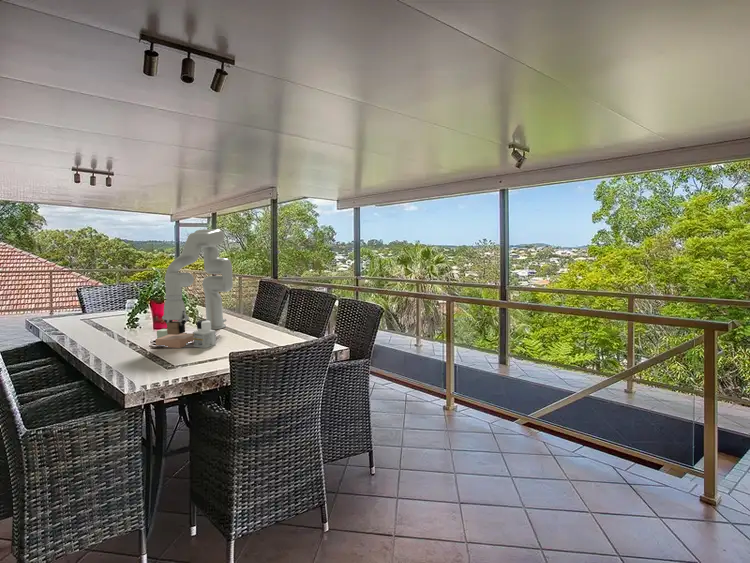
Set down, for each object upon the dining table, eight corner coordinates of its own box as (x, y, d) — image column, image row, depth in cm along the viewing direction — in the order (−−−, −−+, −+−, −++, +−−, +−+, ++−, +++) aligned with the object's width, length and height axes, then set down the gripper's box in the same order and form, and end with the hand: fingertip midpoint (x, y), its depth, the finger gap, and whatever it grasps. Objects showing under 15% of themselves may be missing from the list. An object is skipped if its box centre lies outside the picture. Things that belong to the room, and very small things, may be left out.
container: (193, 346, 222) (192, 321, 221) (205, 343, 229) (204, 318, 228) (204, 348, 219) (202, 322, 217) (216, 344, 226) (215, 320, 224)
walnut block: (175, 331, 232) (174, 320, 231) (185, 332, 230) (184, 320, 230) (167, 334, 226) (166, 322, 225) (177, 334, 224) (176, 323, 224)
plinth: (174, 340, 237) (174, 332, 237) (197, 341, 234) (196, 333, 233) (156, 346, 223) (155, 338, 223) (179, 347, 220) (179, 340, 220)
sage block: (163, 337, 244) (163, 328, 243) (171, 338, 243) (170, 329, 242) (157, 339, 239) (156, 330, 238) (165, 340, 238) (164, 331, 237)
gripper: (154, 298, 224) (157, 333, 226) (184, 299, 220) (186, 334, 222) (164, 296, 232) (167, 330, 234) (193, 297, 228) (195, 331, 230)
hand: (176, 331), depth 228 cm, fingers closed on walnut block, 6 cm apart
